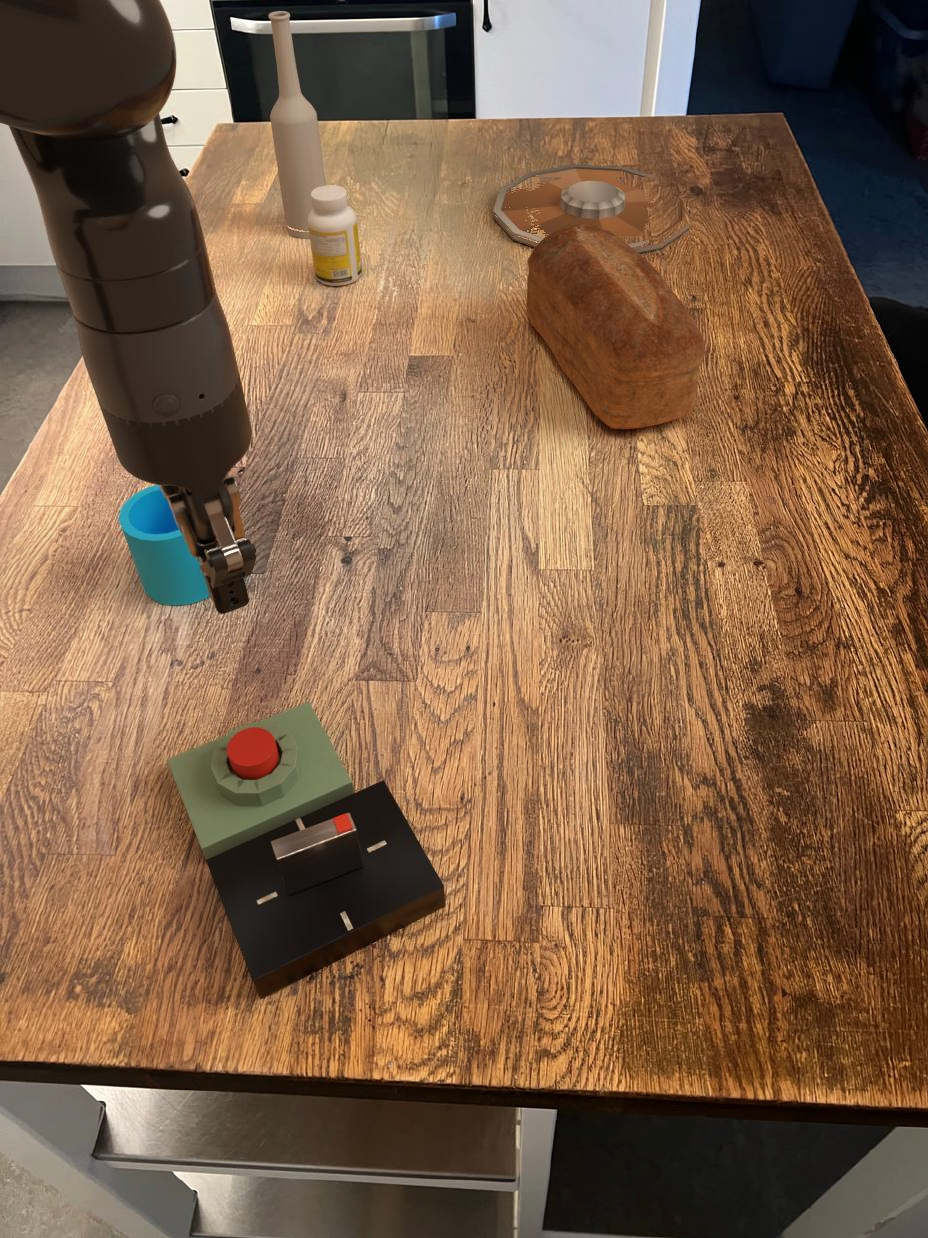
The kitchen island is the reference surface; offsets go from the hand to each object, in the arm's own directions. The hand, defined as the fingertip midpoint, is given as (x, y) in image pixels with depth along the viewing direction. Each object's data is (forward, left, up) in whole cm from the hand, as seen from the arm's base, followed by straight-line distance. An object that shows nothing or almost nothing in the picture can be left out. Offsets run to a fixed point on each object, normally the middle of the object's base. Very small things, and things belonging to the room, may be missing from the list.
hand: (230, 602), depth 64 cm
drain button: (-2, -2, -15) cm, 15 cm away
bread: (+55, +36, -19) cm, 68 cm away
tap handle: (-1, -12, -16) cm, 20 cm away
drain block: (-2, -1, -19) cm, 19 cm away
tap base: (-1, -12, -19) cm, 22 cm away
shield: (+77, +72, -19) cm, 107 cm away
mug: (+1, +24, -19) cm, 30 cm away
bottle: (+38, +89, -19) cm, 98 cm away
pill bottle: (+36, +73, -19) cm, 83 cm away
